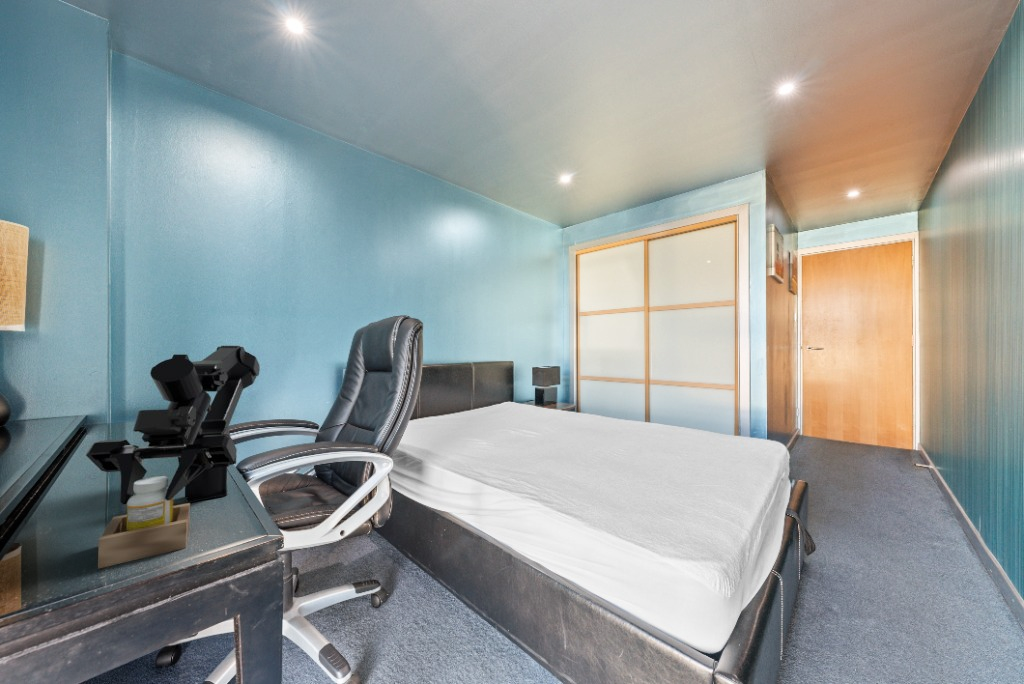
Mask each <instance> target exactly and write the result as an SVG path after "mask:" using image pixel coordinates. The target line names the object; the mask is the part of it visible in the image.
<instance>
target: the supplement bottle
mask: <svg viewBox="0 0 1024 684" xmlns="http://www.w3.org/2000/svg"><path fill="white" fill-rule="evenodd" d="M167 487H169V477H168V476H165V475H159V476H157V475H156V476H150V477H143V479H141V480H138V481H136V482H134V487H133V491H134V492H135V493H134V494H133V496H132V497H130V498H129V500H128V502H127V504H126V515H127V531H131V530H136V529H141V528H146V527H151V526H156V525H161V524H166V523H171V522H173V506H174V497H173V498H172V499H171V500H166V499H165V496H166V493H167V490H168V488H167Z"/></svg>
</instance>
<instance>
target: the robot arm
mask: <svg viewBox="0 0 1024 684" xmlns="http://www.w3.org/2000/svg"><path fill="white" fill-rule="evenodd" d="M259 363H260V362H259V361H258V359H257V357H256V355H253V354H251V353H250V352H248V351H246V350H245V348H244V346H241V345H221V346H217V348H216V350H215V351H214V352H212V353H211V354H209V355H208V356H207V357H205V358H204V359H202V360H197V361H191V360H190V358H189V355H188V354H186V353H185V354H179V353H178V354H176V353H175V354H173V355H172V357H171V358H169V359H164V360H163V361H160V362H158V363H157V364H155V366H153V367H151V369H150V376H151V378H152V381H153V382H154V384H155V386H156V387H157V390H158V391H159V393H160V395H161V397H162V398H163V401H164V400H165V401H167V402H169V404H168V406H167V408H166V409H143V410H139V411H138V413H137V416H136V419H135V423H134V425H133V430H132V431H133V432H135V433H137V432H139V433H141V434H143V435H142V437H141V439H142V441H143V442H144V443H148V445H145V446H138V445H136V444H131V443H130V442H129V441H128V440H127V439H112V440H111V439H110V440H107V439H106V440H99V441H96V442H94V443H93V444H92V445H91V446H90V448H89V449H88V450H87V452H86V454H85V456H86V457H87V459H88V460H90V461H91V462H92V463H93V464H94V465H95V466H96V467H97V468H98V469H99V470H100V471H101V472H103V473H104V472H105V473H114V472H115V473H116V472H117V473H118V472H120V496H119V497H120V499H119V500H120V504H122V505H125V506H126V505H127V502H128V500H129V498H130V497H132V496H133V495H135V494H136V493H135V492H134V491H133V487H134V482H136V481H138V480H141V479H144V478H145V475H146V474H147V472H148V471H147V469H146V468H145V467H144V466H143V465H142V464H143V462H144V460H148V459H151V460H156V459H174V458H177V461H178V467H177V468H176V471H175V473H174V475H173V477H172V479H171V480H170V483H169V484H168V486H167V487H168V488H167V489H168V490H167V493H166V496H165V499H166V500H171V499H172V498H173V499H174V498H175V497H176V496H177V494H179V493H180V492H181V491H182V490H183V489H184V497H185V498H186V499H187V501H186V502H187V503H193V502H198V501H204V500H208V499H215V498H219V497H226V496H228V467H230V466H233V465H236V464H237V453H238V452H237V447H236V445H235V443H234V441H233V439H232V437H231V434H230V431H229V430H230V429H229V426H230V423H231V421H232V418H233V417H234V413H235V411H236V408H237V405H238V403H239V400H240V398H241V395H242V393H243V390H245V389H247V388H248V387H250V386H251V385H253V384H254V383H255V380H256V379H257V377H259V375H260V372H261V371H260V364H259ZM212 392H213V393H215V395H214V398H213V400H212V397H211V396H210V394H209V393H212Z"/></svg>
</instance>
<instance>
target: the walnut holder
mask: <svg viewBox="0 0 1024 684" xmlns="http://www.w3.org/2000/svg"><path fill="white" fill-rule="evenodd" d="M190 511H191V502H187V503H182V504H176V505H173V522H171V523H166V524H161V525H156V526H151V527H146V528H141V529H136V530H131V531H127V514H122V515H117V516H113V517H112V518H111V520H110V522H109V523H108V525H107V526H106V528H105V529H104V531H103V533H102V534H101V536H100V537H99V539H98V554H97V557H98V559H97V569H98V570H99V569H102V568H107V567H110V566H111V567H112V566H115V565H119V564H123V563H124V564H125V563H128V562H133V561H136V560H141V559H145V558H148V557H149V558H150V557H152V556H158V555H162V554H166V553H171V552H174V551H178V550H182V549H187V542H188V536H189V530H190V524H191V523H190V519H191V518H190V517H191V513H190Z"/></svg>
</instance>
